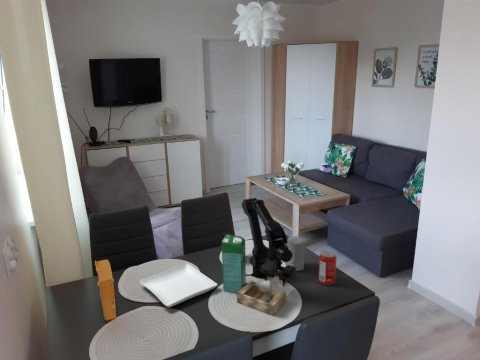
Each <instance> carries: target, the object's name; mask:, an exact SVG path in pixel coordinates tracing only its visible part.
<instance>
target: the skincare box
mask: <svg viewBox="0 0 480 360" xmlns="http://www.w3.org/2000/svg"><path fill="white" fill-rule="evenodd" d="M287 241H288V243H286V246H288V247H289V250H290V251H291V252H292V254H293V255H292V258H291V260H290V261H288V262H284V264H285V267H286V266H287V265H290V266H293V267H295V268H296V272H300V271H303V270H305V269H304V268H305V267H304V266H305V260H306V259H305V258H306V257H305V256H306V248H307V247H306V246H307V242H306V241H305V240H304V239H302V238H301V237H299V236H298V235H296V236H288V237H287Z"/></svg>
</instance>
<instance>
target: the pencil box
mask: <svg viewBox="0 0 480 360" xmlns="http://www.w3.org/2000/svg"><path fill="white" fill-rule="evenodd" d="M256 284H257V281H256V282H255V281H253V280H250V281H249V282H248V283H246V284H245V287H243V288H242V289H241V290H240V291H239V292H236V303H238V304H240V305H242V306H245V307H249V308H250V309H254V310H257V311H259V312H262V313H265V314H267V315H269V316H272V317H273V316H274V315H276V314H277V312H278V311H279V310H280V309H281V308H282V307H283V306H284V305H285V304H286V303H287V297H286V292H284V291H280V292H279V293H278V294H277V293H274V292H271V291H268V290H265V289H262V288H259V287H258V286H256Z"/></svg>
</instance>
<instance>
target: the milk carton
mask: <svg viewBox="0 0 480 360" xmlns="http://www.w3.org/2000/svg"><path fill="white" fill-rule="evenodd" d="M235 236H236V235H231V234H229V233H226V234H225V235H224V238H222V239H223V240H221V257H222V259H221V261H222V283H223V284H222V287H223V289H222V290H223V292H230V293H237V292H239V291H240V290H241V289H242V288H243V287H245V286H246V285H247V271H246V270H247V268H246V262H247V261H246V257H247V256H246V239H241V238H238V237H235Z"/></svg>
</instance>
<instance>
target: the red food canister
mask: <svg viewBox="0 0 480 360" xmlns="http://www.w3.org/2000/svg"><path fill="white" fill-rule="evenodd" d="M318 258H319V261H318V282H319V283H320V284H323V285H324V286H331V285H334V284H335V283H336V272H337V271H336V270H337V256H336V253H335V252H333V251H332V250H322V251H321V252H320V254H319V257H318Z"/></svg>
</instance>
